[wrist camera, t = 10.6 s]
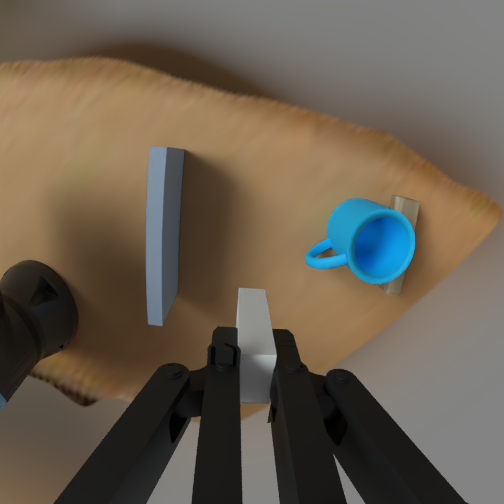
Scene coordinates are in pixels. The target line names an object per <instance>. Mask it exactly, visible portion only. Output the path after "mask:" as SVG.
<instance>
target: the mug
mask: <svg viewBox="0 0 504 504" xmlns="http://www.w3.org/2000/svg"><path fill="white" fill-rule="evenodd" d="M327 237H328V239H325V240H323V241H322V242H320V243H318V244H316V245H315V246H313V247H312V248H311V249H310V250H309V251H308V252H307V254H306V256H305V261H306V264H307V265H309V266H310V267H312V268H317V269H327V268H334V267H338V266H342V265H345V264H346V265H347V266H348V267H349V268H350V269H351V270H352V271H353V272H354V273H355V274H356V275H357V276H358V277H359V278H360V279H361V280H363V281H365V282H368V283H370V284H382V283H386V282H390V281H392V280H393V279H395V278H397V277H398V276H400V275H401V274H402V273H403V271H404V270H405V269H406V268H407V267H408V265H409V263H410V261H411V259H412V257H413V254H414V250H415V234H414V231H413V228H412V225H411V223H410V222H409V221H408V220H407V218H406V217H405V216H404V215H402V214H401V213H399V212H397V211H395V210H393V209H390V208H388V207H385V206H383V205H380V204H377V203H375V202H372V201H370V200H367V199H361V198H355V199H350V200H347V201H345V202H343V203H342V204H340V205H339V206H338V207H337V208H336V209H335V210H334V211H333V212H332V215H331V217H330V219H329V221H328V226H327ZM329 248H332V250H333V251H334V252H335V253H336V254H337V255H336V256H332V257H327V258H315V257H316V256H317V255H319V254H320V253H322V252H323V251H325V250H327V249H329Z"/></svg>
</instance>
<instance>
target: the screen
mask: <svg viewBox="0 0 504 504" xmlns="http://www.w3.org/2000/svg"><path fill="white" fill-rule="evenodd" d="M184 154H185V150H184V149H177V148H170V147H150V154H149V169H148V186H147V211H146V290H147V314H148V324H149V325H157V326H163V324H164V322H165V319H166V317H167V315H168V313H169V310H170V308H171V306H172V304H173V302H174V299H175V297H176V295H177V293H178V261H179V232H180V211H181V194H182V179H183V166H184Z"/></svg>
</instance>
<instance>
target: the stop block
mask: <svg viewBox="0 0 504 504" xmlns="http://www.w3.org/2000/svg"><path fill="white" fill-rule="evenodd" d="M419 203H420V202H419V201H416V200H412V199H409V198H406V197H401V196H396V195H392V197H391V204H390V209H393V210H395V211H397V212H399V213H401V214H402V215H404V216H405V217H406V218H407V220H408V221H409V222H410V223H411V225H412V228H413V231H415V226H416V220H417V215H418V209H419ZM405 272H406V269H405V270H404V271H403V273H402V274H401V275H400V276H398V277H397V278H395V279H393V280H392V281H390V282H386V283H382V284H377V285H378V286H379V287H380V288H381V289H382V290H383V291H384V292H385V293H386V294H400V291H401V288H402V284H403V280H404V276H405Z"/></svg>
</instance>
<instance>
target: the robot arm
mask: <svg viewBox="0 0 504 504" xmlns="http://www.w3.org/2000/svg"><path fill="white" fill-rule="evenodd" d="M77 327H78V315H77V309H76V306H75V302H74V300H73V297H72V295H71V293H70V291H69V289H68V288H67V286H66V285H65V283H64V282H63V281H62V279H61V278H60V277H59V276H58V275H57V274H56V273H55V272H54V271H53V270H51V269H50V268H49V267H47V266H46V265H44V264H42V263H40V262H37V261H32V260H26V261H22V262H19V263H17V264H16V265H14V266H12V267H11V268H9V269H8V270H7V271H6V272H5V274H4V275H3V277H2V279H1V281H0V409H1V408H2V407H4V406H5V405H6V403H7V402H8V401H9V399H10V398H11V397H12V395H13V393H14V392H15V391H16V390H17V388H18V387H19V386H20V385H21V383H22V382H23V380H24V379H25V378H26V377H27V375H28V374H29V373H30V371H31V370H32V369H33V368H34V366H35V365H36V364H37V363H38V362H39V361H40V360H42V359H44V358H46V357H48V356H51V355H53V354H55V353H57V352H59V351H61V350H63V349H64V348H65V347H66V346H67V345H68V344H69V343H70V341H71V340H72V339H73V338H74V336H75V334H76V331H77ZM269 399H271V406H270V411H269V417H268V423H269V422H270V420H271V428H272V438H273V446H274V456H275V465H276V473H277V482H278V491H279V500H280V504H347V502H346V499H345V495H344V491H343V488H342V484H341V481H340V477H339V473H338V470H337V466H336V463H335V459H334V456H333V454H334V455H335V457H336V458H337V460H338V462H339V463H340V465H341V466H342V468H343V469H344V471H345V473H346V474H347V476H348V477H349V479H350V481H351V482H352V484H353V485H354V487H355V488H356V490H357V491H358V493H359V494H360V496H361V497H362V499H363V500H364V502H365V504H468V503H466V502H465V501H464V500H463V499H462V498H461V496H460V495H459V494H458V493H457V492H456V491H455V490H454V488H453V487H452V486H451V485H450V484H449V483H448V482H447V480H446V479H445V478H444V477H443V476H442V475H441V474H440V472H439V471H438V470H437V469H436V468H435V467H434V466H433V465H432V463H431V462H430V461H429V460H428V459H427V458H426V457H425V455H424V454H423V453H422V452H421V451H420V450H419V449H418V448H417V446H416V445H415V444H414V443H413V442H412V441H411V440H410V438H409V437H408V436H407V435H406V434H405V432H404V431H403V430H402V429H401V428H400V427H399V426H398V425H397V423H396V422H395V421H394V420H393V419H392V418H391V416H390V415H389V414H388V413H387V412H386V411H385V410H384V409H383V407H382V406H381V405H380V404H379V403H378V402H377V401H376V399H375V398H374V397H373V396H372V395H371V393H370V392H369V391H368V390H367V389H366V388H365V387H364V386H363V384H362V383H361V382H360V381H359V380H358V379H357V377H356V376H355V375H354V374H353V373H351V372H349V371H347V370H344V369H333V370H330V371H329V372H328V373H327V375H326V376H322V375H317V374H314V373H311V372H309V370H308V368H307V366H306V365H305V364H303V363H302V362H301V360H300V356H299V353H298V349H297V347H296V342H295V339H294V335H293V334H292V333H291V332H290V331H289V330H287V329H272V326H271V321H270V315H269V310H268V304H267V299H266V294H265V289H251V288H239V293H238V306H237V319H236V328H233V327H219V326H218V327H217V328H216V329H215V330H214V331H213V336H212V343H211V345H209V347H208V359H207V365H206V366H205V367H204V368H202V369H199V370H194V371H189V370H188V369H187V368H186V367H185V366H184V365H181V364H178V363H167V364H164V365H162V366H161V367H159V368H158V369H157V371H156V372H155V373H154V374H153V376H152V377H151V378H150V380H149V381H148V382H147V383H146V385H145V386H144V387H143V389H142V390H141V391H140V392H139V394H138V395H137V396H136V398H135V399H134V400H133V401H132V403H131V404H130V405H129V407H128V408H127V409H126V411H125V412H124V413H123V414H122V416H121V417H120V418H119V420H118V421H117V422H116V423H115V425H114V426H113V427H112V428H111V430H110V431H109V432H108V434H107V435H106V436H105V438H104V439H103V440H102V441H101V443H100V444H99V446H98V447H97V448H96V449H95V450H94V452H93V453H92V454H91V456H90V457H89V458H88V459H87V461H86V462H85V463H84V465H83V466H82V467H81V469H80V470H79V471H78V473H77V474H76V475H75V476H74V478H73V479H72V480H71V482H70V483H69V484H68V486H67V487H66V488H65V489H64V491H63V492H62V493H61V494H60V496H59V497H58V499H57V500H56V501H55V502H54V504H146V503H147V501H148V499H149V497H150V495H151V494H152V492H153V490H154V488H155V486H156V484H157V483H158V481H159V479H160V477H161V475H162V473H163V472H164V470H165V468H166V466H167V464H168V462H169V460H170V458H171V457H172V455H173V453H174V451H175V449H176V447H177V445H178V443H179V441H180V440H181V438H182V436H183V434H184V432H185V430H186V428H187V426H188V424H189V423H190V421H191V417H197V416H201V420H200V428H199V438H198V446H197V455H196V465H195V474H194V484H193V494H192V504H242V470H241V468H242V467H241V419H240V402H242V403H269Z"/></svg>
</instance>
